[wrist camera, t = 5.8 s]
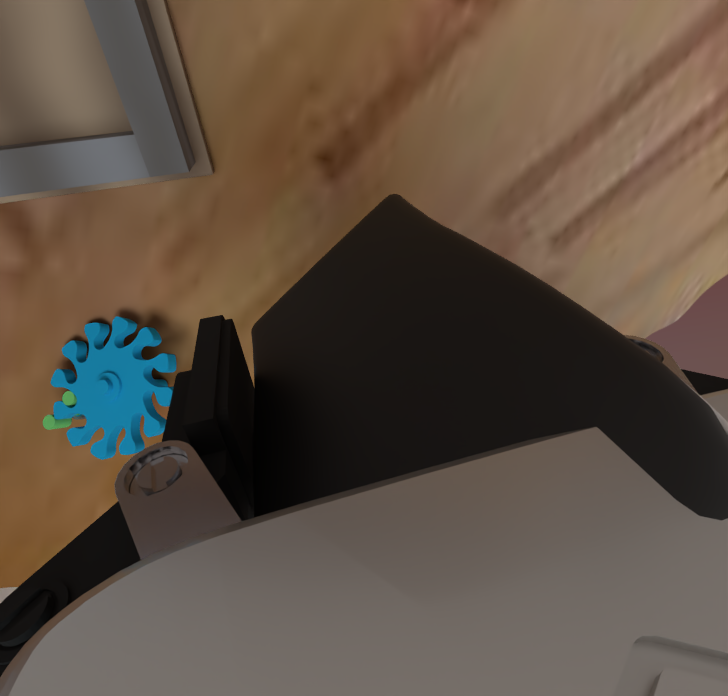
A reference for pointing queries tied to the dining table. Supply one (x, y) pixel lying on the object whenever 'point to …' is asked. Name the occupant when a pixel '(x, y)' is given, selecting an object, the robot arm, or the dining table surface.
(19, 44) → the frame
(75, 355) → the gear
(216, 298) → the dining table surface
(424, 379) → the battery charger
